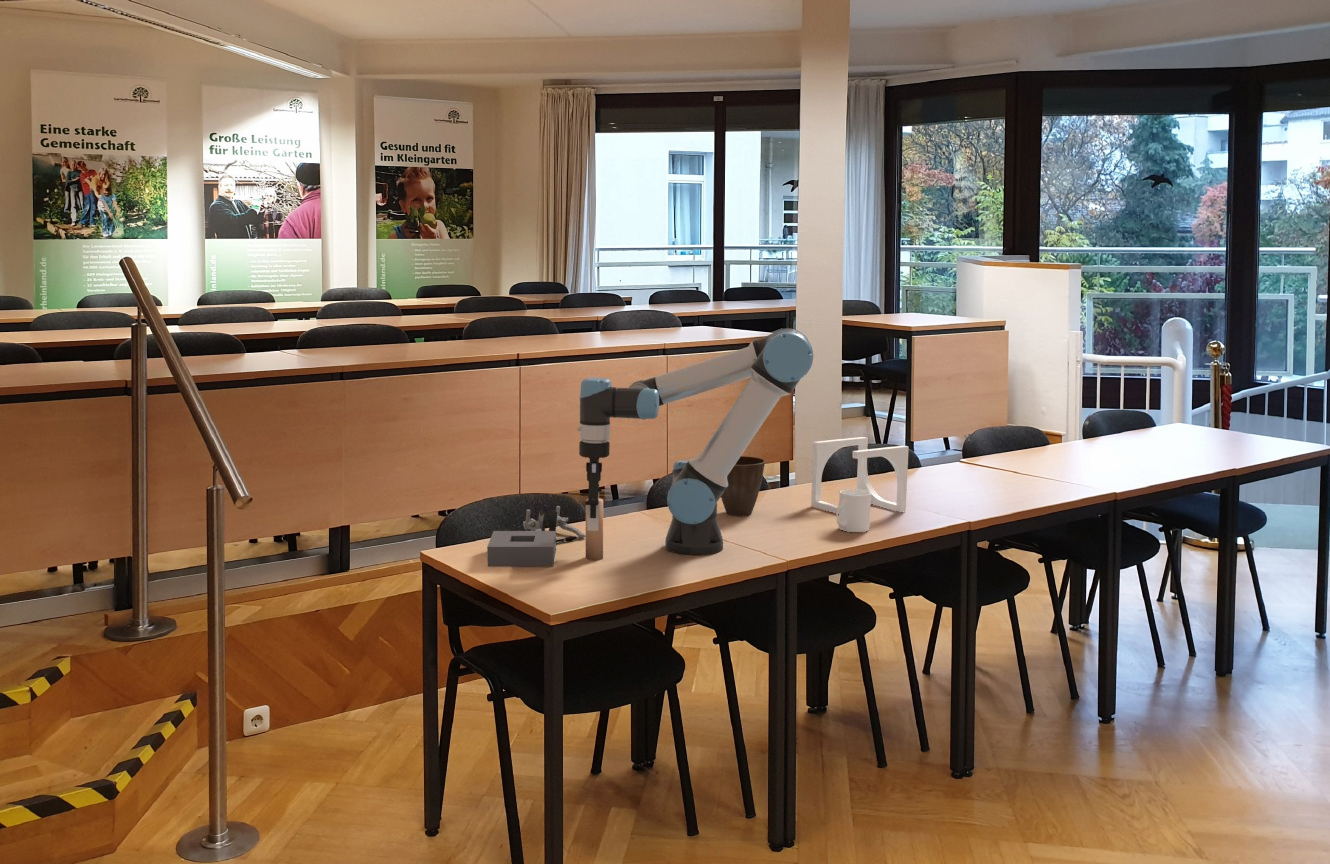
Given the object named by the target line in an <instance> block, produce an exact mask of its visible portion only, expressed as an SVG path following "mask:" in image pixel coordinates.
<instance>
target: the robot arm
mask: <svg viewBox="0 0 1330 864" xmlns="http://www.w3.org/2000/svg"><path fill="white" fill-rule="evenodd" d="M813 361H814V350H813V347H812V345H811V342H810V341H809V339H808V338H807V336H806V335H805V334H804V333H802V332H801V331H799V330H797V329H795V328H791V327H790V328H789V327H788V328H787V327H786V328H781V329H777V330H776V331H774V332H772V333H770V334H768V335H766V336H764V337H760V338H759V339H755V340H753V341H751V342H750V343H749V345H748V346H747V347H743V348H741V349H737V350H734V351H731V352H728V353H724V354H723V355H719V356H715V357H712V358H708V359H706V360H703V361H700V362H697V363H694V364H691V365H688V366H685V367H681V368H679V369H676V370H672V371H669V372H666V373H662V374H659V375H656V376H654V377H650V378H647V379H645V380H644V379H642V380H638V381H635V382H633V383H631V384H630V385H629V386H628V387H614V386H612V383H611V380H610V379H609V378H604V377H603V378H602V377H588V378H584V379H583V380H582V381H581V382H580V392H579V393H580V394H579V426H578V427H576V429H577V431H579V439H580V441H579V442H578V443H579V444H578V449H579V450H578V451H579V452H578V455H579V456H580V457H582V458H585V459H587V458H588V459H589V462H588V461H587V462H586V464H585V465H586V466H585V471H586V481H588V491H587V492H588V493H587V494H588V495H587V496H588V498H587V499H588V501H586V500H585V501H584V503H585V504H584V506H586V505H588V515H587V531H598V518H599V500H598V498H600V493H601V492H602V487H600V481H602V475H601V474H602V471H603V463H602V462H600V459H602V458H603V459H604V458H607V457H609V456H610V447H611V446H610V442H609V440H610V439H611V418H613V419H614V418H615V419H617V418H620V419H637V420H638V419H639V420H654V419H657V418H658V417H659V411H660V410H659V409H660V406H663V405H666V404H671V403H673V402H676V401H680V400H682V399H686V398H688V397H692V396H696V395H699V394H702V393H705V392H708V391H711V390H714V389H718V388H720V387H724V386H727V385H731V384H734V383H737V382H741V381H743V380H746V379H749V381H748V382H747V384H746V385H745V386H744V388H743V390H742V391H741V393H740V394H739V395H738V397H737V399H736V400H735V402H734V403H733V404H732V406H731V408H730V409H729V411H728V412H727V414H725V417H724V418H723V419H722V421H721V423H720V424H719V425H718V427H717V428H716V430H715V432H714V433H713V434H712V435H711V437H710V438H709V441H707V444H706V445H705V446H704V448H703V449H702V451H701V452H700V454H699V455H698V457H693V458H690V459H688V460H679V461H678V460H677V461H676V462H674V463H673V467H672V470H671V471H672V472H671V473H672V482H671V483H672V484H671V486H670V488H669V489H668V491H667V494H666V501H667V502H666V503H667V508H668V510H669V512H670V513H671V515H672V519H671V522H670V524H669V528H668V530H667V533H666V537H665V543H664V544H665V549H666V550H668V551H670V552H672V553H677V554H683V555H694V556H697V555H710V554H716V553H718V552H721V551H723V549H724V539H723V535H722V532H721V529H720V525H719V522H718V501H719V500H720V498H721V496H722V494H723V493H724V491H725V490H726V488H727V487H728V481H727V476H728V474H729V473H730V471H731V470H732V468H733V467H734V465H735V464H736V462H737V461H738V460H739V458H740V457H741V456H743V454H744V453H745V451H746V449H747V448H748V446H749V445H750V443H751V442H752V441H753V439H754V438H755V436H756V434H757V433H758V432H759V430H760V429H761V427H762V425H763V424H764V422H765V421H766V420H767V419H768V416H769V415H770V414H771V412H772V411H773V409H774V408H775V406H776V405H777V403H778V402H779V401H780V399H781V398H782V397H785V396H790V395H791V394H792V392H793V391H794V389H795V388H796V386H798V384H799V382H800V381H801V379H802V378H804V377H805V376H806V375H807V374H808V373H809V372H810V370H811V368H812V365H813Z"/></svg>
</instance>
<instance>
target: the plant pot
mask: <svg viewBox="0 0 1330 864" xmlns="http://www.w3.org/2000/svg"><path fill="white" fill-rule="evenodd" d="M765 464H766V460H765V459H764V458H759V457H753V456H744V455H741V457H740V458H739V460H738V461H737V462H736V464H735V465H734V467H733V468H732V470H731V471H730V473H729V474H728V476H727V481H728V487H727V488H726V490H725V491H724V493H723V494H722V496H721V497H720V498H721V501H722V504H723V507H724V510H725V512H726V514H727V516H728V515H729V516H733V517H745V516H746V517H747V516H750V515H751V514H752V513H753V511H754V508H755V506H756V503H757V500H758V496H759V493H760V490H761V485H762V480H763V477H764V472H765V471H764V470H765Z"/></svg>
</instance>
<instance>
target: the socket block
mask: <svg viewBox="0 0 1330 864" xmlns="http://www.w3.org/2000/svg"><path fill="white" fill-rule="evenodd" d="M556 538H557V531H549V530H545V531H532V530H528V531H526V530H493V531H492V534H491V536H490V538H489V541H488V544H487V546H486V547H487V548H486V550H487V551H486V552H487V557H486V559H487V561H486V562H487V565H486V566H487V568H491V567H493V568H494V567H496V568H497V567H499V568H501V567H502V568H509V567H514V568H515V567H516V568H517V567H519V568H520V567H521V568H522V567H523V568H525V567H527V568H528V567H529V568H530V567H531V568H533V567H534V568H536V567H544V568H548V567H550V568H553V567H554V563H555V557H556V551H557V544H556Z"/></svg>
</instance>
